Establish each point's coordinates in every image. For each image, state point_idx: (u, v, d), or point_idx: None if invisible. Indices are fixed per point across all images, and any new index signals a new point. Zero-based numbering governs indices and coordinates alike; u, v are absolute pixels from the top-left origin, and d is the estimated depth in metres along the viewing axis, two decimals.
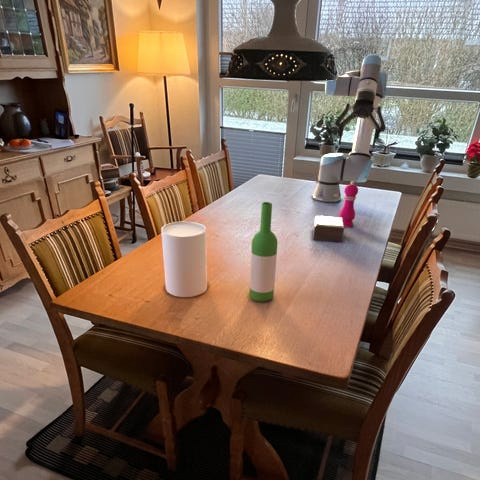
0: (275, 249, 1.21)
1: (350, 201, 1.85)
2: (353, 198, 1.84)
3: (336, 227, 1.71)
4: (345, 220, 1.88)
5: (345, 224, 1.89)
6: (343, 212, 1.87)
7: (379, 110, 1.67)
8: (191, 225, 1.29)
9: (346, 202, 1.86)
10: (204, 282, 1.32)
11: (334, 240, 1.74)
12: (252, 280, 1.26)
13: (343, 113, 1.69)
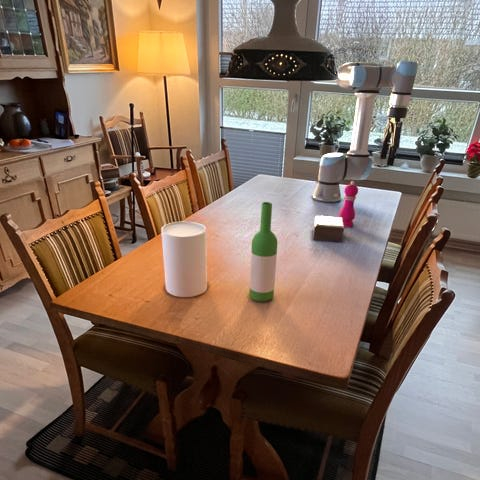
0: (275, 249, 1.21)
1: (350, 201, 1.85)
2: (353, 198, 1.84)
3: (336, 227, 1.71)
4: (345, 220, 1.88)
5: (345, 224, 1.89)
6: (343, 212, 1.87)
7: None
8: (191, 225, 1.29)
9: (346, 202, 1.86)
10: (204, 282, 1.32)
11: (334, 240, 1.74)
12: (252, 280, 1.26)
13: None
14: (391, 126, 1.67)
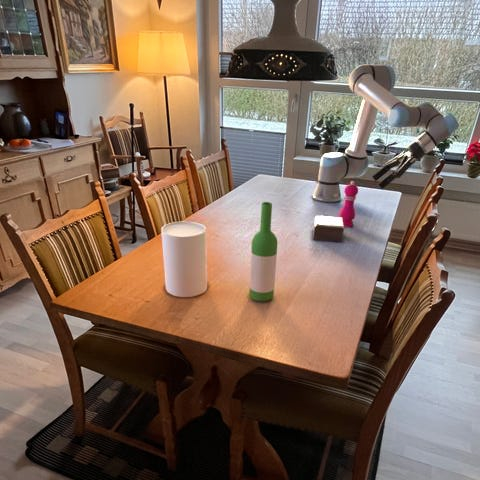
0: (275, 249, 1.21)
1: (350, 201, 1.85)
2: (353, 198, 1.84)
3: (336, 227, 1.71)
4: (345, 220, 1.88)
5: (345, 224, 1.89)
6: (343, 212, 1.87)
7: None
8: (191, 225, 1.29)
9: (346, 202, 1.86)
10: (204, 282, 1.32)
11: (334, 240, 1.74)
12: (252, 280, 1.26)
13: None
14: (404, 157, 1.73)
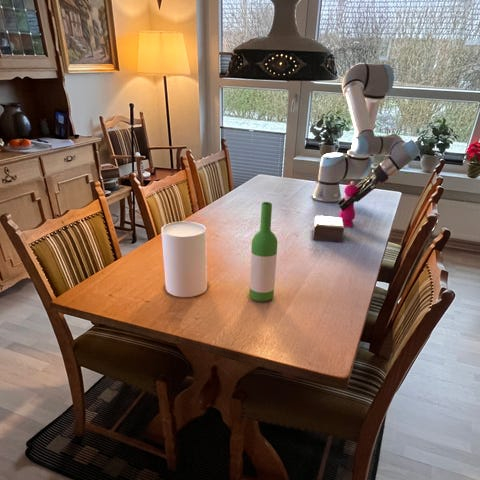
0: (275, 249, 1.21)
1: None
2: None
3: (336, 227, 1.71)
4: (345, 220, 1.88)
5: (345, 224, 1.89)
6: (343, 212, 1.87)
7: None
8: (191, 225, 1.29)
9: None
10: (204, 282, 1.32)
11: (334, 240, 1.74)
12: (252, 280, 1.26)
13: None
14: (368, 181, 1.79)
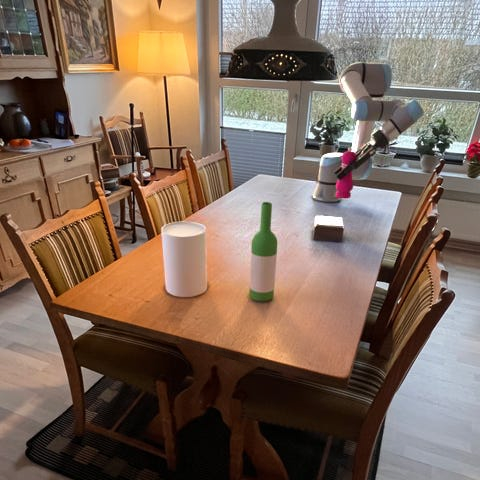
0: (275, 249, 1.21)
1: None
2: None
3: (336, 227, 1.71)
4: (342, 191, 1.74)
5: (342, 195, 1.75)
6: (341, 181, 1.73)
7: None
8: (191, 225, 1.29)
9: None
10: (204, 282, 1.32)
11: (334, 240, 1.74)
12: (252, 280, 1.26)
13: None
14: (367, 147, 1.65)
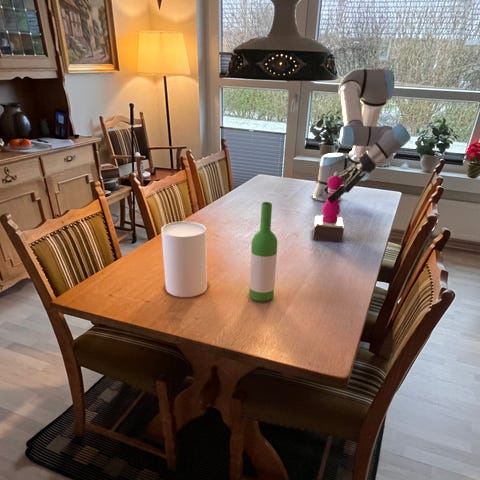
0: (275, 249, 1.21)
1: None
2: None
3: (336, 227, 1.71)
4: (329, 215, 1.72)
5: (329, 220, 1.72)
6: (327, 206, 1.70)
7: None
8: (191, 225, 1.29)
9: None
10: (204, 282, 1.32)
11: (334, 240, 1.74)
12: (252, 280, 1.26)
13: None
14: (354, 170, 1.62)
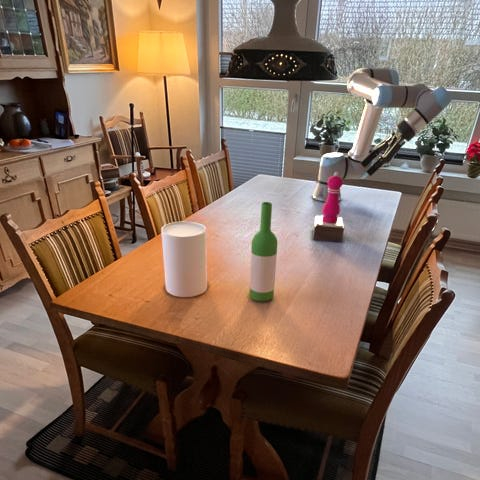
0: (275, 249, 1.21)
1: (334, 194, 1.68)
2: (337, 191, 1.67)
3: (336, 227, 1.71)
4: (329, 215, 1.72)
5: (329, 220, 1.72)
6: (327, 206, 1.70)
7: None
8: (191, 225, 1.29)
9: (330, 195, 1.69)
10: (204, 282, 1.32)
11: (334, 240, 1.74)
12: (252, 280, 1.26)
13: None
14: (393, 139, 1.56)
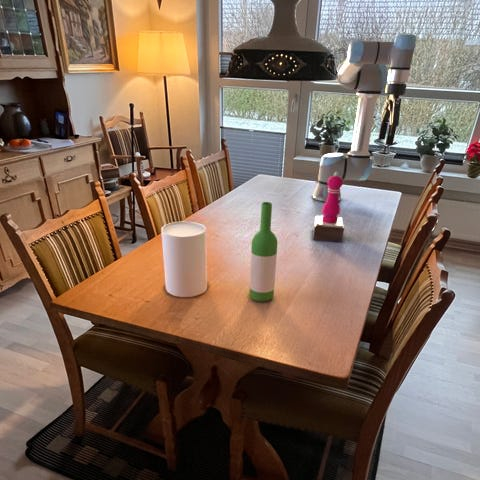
0: (275, 249, 1.21)
1: (334, 194, 1.68)
2: (337, 191, 1.67)
3: (336, 227, 1.71)
4: (329, 215, 1.72)
5: (329, 220, 1.72)
6: (327, 206, 1.70)
7: None
8: (191, 225, 1.29)
9: (330, 195, 1.69)
10: (204, 282, 1.32)
11: (334, 240, 1.74)
12: (252, 280, 1.26)
13: None
14: (390, 104, 1.61)
